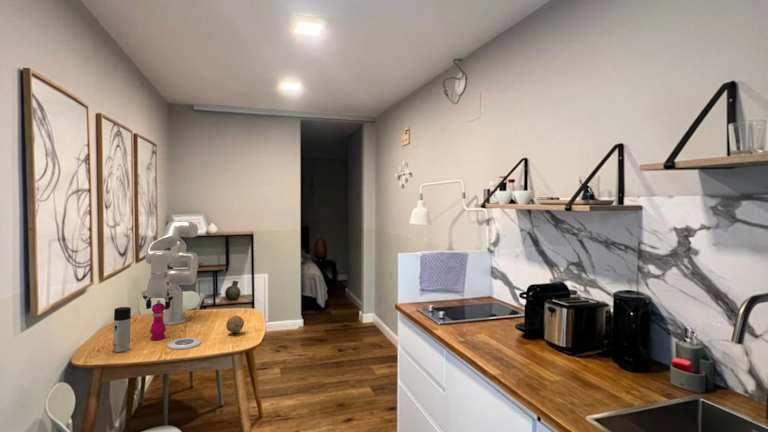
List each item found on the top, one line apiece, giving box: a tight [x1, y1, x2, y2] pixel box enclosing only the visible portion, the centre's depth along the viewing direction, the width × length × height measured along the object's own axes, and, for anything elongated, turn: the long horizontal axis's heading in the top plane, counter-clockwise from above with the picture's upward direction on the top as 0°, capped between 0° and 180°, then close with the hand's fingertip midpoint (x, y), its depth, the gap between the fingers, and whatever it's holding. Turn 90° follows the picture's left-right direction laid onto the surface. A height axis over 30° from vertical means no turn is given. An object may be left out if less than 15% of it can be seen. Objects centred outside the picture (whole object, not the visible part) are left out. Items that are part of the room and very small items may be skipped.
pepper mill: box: [149, 300, 167, 341], centre depth 210 cm, size 7×7×20 cm
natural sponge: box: [225, 315, 245, 334], centre depth 221 cm, size 9×9×10 cm
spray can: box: [112, 306, 132, 353], centre depth 192 cm, size 7×7×20 cm
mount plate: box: [167, 337, 202, 351], centre depth 202 cm, size 15×15×1 cm
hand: (158, 308), depth 210 cm, fingers open, 9 cm apart
